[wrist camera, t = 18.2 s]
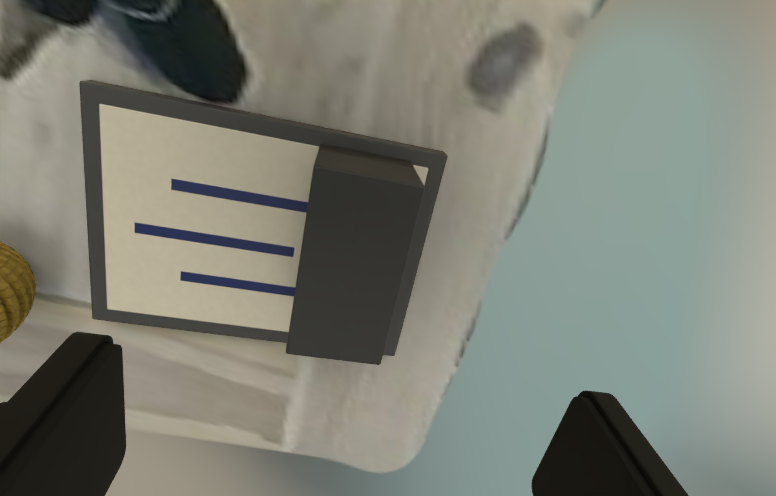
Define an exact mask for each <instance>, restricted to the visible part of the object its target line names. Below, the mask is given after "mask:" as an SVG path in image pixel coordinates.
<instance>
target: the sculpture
mask: <svg viewBox="0 0 776 496" xmlns="http://www.w3.org/2000/svg"><path fill="white" fill-rule="evenodd" d="M32 273H33V272H32V271H31V269H30V266H29V264H28V263H27V262H26V261H25V260H24V258H23V257H21V255H19V254H18V253H17V252H15V250H14V249H12V248H10V247H8V246H7V245H5V244H3V243H1V242H0V343H1V342H2V341H3V339H6V338H8V337H9V336H10V335H11V334H12V333H13V331H14V330H16V329H17V328H18V327H19V325H21V323H22V321H24V319H25V317H27V316H26V315H28V313H29V311H30V310H31V308H32V307H31V306H32V305H33V301H34V295H35V288H36V284H35V283H34V282H35V280H34V276H33V274H32ZM1 297H2V298H1ZM2 305H3V306H2Z"/></svg>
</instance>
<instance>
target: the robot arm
mask: <svg viewBox="0 0 776 496" xmlns="http://www.w3.org/2000/svg"><path fill="white" fill-rule="evenodd" d="M125 450H126V433H125V407H124V382H123V357H122V347H121V345H117V344H113V339H112V337H111V336H108V335H100V334H91V333H83V332H75V333H73V334H72V335H70V336H69V337H68V338H67V339H66V340H65V341H64V342H63V344H62V345H61V346H60V347H59V348H58V349H57V350H56V351H55V352H54V353H53V354H52V355H51V356H50V357H49V358H48V359H47V361H46V362H45V363H44V364H43V365H42V366H41V367H40V368H39V369H38V370H37V371H36V372H35V373H34V374H33V375H32V376H31V378H30V379H29V380H28V381H27V382H26V383H25V384H24V385H23V386H22V387H21V388H20V389H19V390H18V391H17V392H16V393H15V395H14V396H13V397H12V398H11V399H10V400H9V401H8V402H2V403H0V496H105V494H106V492H107V490H108V488H109V486H110V484H111V483H112V481H113V479H114V477H115V475H116V473H117V472H118V470H119V468H120V466H121V464H122V460H123V458H124V455H125ZM532 493H533V496H688V494H687V493H686V492H685V490H684V489H683V488H682V486H681V485H680V484H679V482H678V481H677V480H676V478H675V477H674V476H673V474H672V473H671V472H670V470H669V469H668V468H667V466H666V465H665V464H664V462H663V461H662V459H661V458H660V457H659V455H658V454H657V453H656V451H655V450H654V449H653V447H652V446H651V445H650V443H649V442H648V441H647V439H646V438H645V437H644V435H643V434H642V433H641V431H640V430H639V429H638V428H637V426H636V425H635V423H634V422H633V421H632V419H631V418H630V417H629V415H628V414H627V413H626V411H625V410H624V409H623V407H622V406H621V405H620V403H619V402H618V401H617V399H616V398H615V397H614V396H613V395H611V394H609V393H602V392H592V391H583V392H581V393H580V394H579V395H578V397H574V398H573V399H572V401H571V402H570V404H569V407H568V408H567V411H566V413H565V415H564V416H563V418H562V420H561V422H560V424H559V426H558V428H557V430H556V432H555V434H554V436H553V438H552V440H551V442H550V445H549V446H548V448H547V450H546V452H545V454H544V456H543V458H542V460H541V463H540V464H539V467H538V468H537V471H536V472H535V474H534V476H533V479H532Z"/></svg>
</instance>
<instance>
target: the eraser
mask: <svg viewBox="0 0 776 496" xmlns="http://www.w3.org/2000/svg"><path fill="white" fill-rule="evenodd" d="M424 190H425V186H424V184H423V182H422V181H421V179H420V177H419V175H418V174H417V172H416V170H415V169H414V166H413V164H412V163H411V161H407V160H401V159H396V158H391V157H386V156H381V155H376V154H371V153H366V152H361V151H356V150H351V149H346V148H341V147H336V146H331V145H325V144H320V146H319V150H318V153H317V157H316V160H315V163H314V167H313V173H312V179H311V186H310V193H309V200H308V206H307V213H306V220H305V226H304V233H303V240H302V246H301V253H300V260H299V266H298V273H297V280H296V287H295V293H294V300H293V307H292V313H291V320H290V327H289V333H288V340H287V347H286V353H287V354H293V355H302V356H310V357H318V358H327V359H335V360H343V361H352V362H360V363H369V364H377V365H379V364H380V363H381V360H382V356H383V352H384V348H385V344H386V340H387V336H388V332H389V328H390V324H391V320H392V316H393V312H394V308H395V304H396V300H397V296H398V292H399V289H400V285H401V281H402V277H403V273H404V269H405V265H406V261H407V257H408V253H409V249H410V245H411V241H412V237H413V233H414V229H415V225H416V221H417V217H418V214H419V210H420V206H421V202H422V198H423V194H424Z"/></svg>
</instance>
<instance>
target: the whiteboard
mask: <svg viewBox="0 0 776 496" xmlns="http://www.w3.org/2000/svg"><path fill="white" fill-rule="evenodd" d="M80 99H81V118H82V136H83V154H84V172H85V190H86V209H87V227H88V245H89V263H90V281H91V299H92V318H93V319H97V320H105V321H113V322H121V323H129V324H138V325H146V326H154V327H162V328H170V329H178V330H186V331H194V332H203V333H211V334H219V335H227V336H235V337H243V338H251V339H260V340H268V341H276V342H284V343H287V340H288V333H289V327H290V320H291V313H292V307H293V300H294V293H295V287H296V280H297V273H298V266H299V260H300V253H301V246H302V240H303V233H304V226H305V220H306V213H307V206H308V200H309V193H310V186H311V179H312V173H313V167H314V163H315V160H316V157H317V153H318V150H319V146H320V144H325V145H331V146H336V147H341V148H346V149H351V150H356V151H361V152H366V153H371V154H376V155H381V156H386V157H391V158H396V159H401V160H407V161H411V163H412V164H413V166H414V169H415V170H416V172H417V174H418V175H419V177H420V179H421V181H422V182H423V184H424V186H425V190H424V194H423V198H422V202H421V206H420V210H419V214H418V217H417V221H416V225H415V229H414V233H413V237H412V241H411V245H410V249H409V253H408V257H407V261H406V265H405V269H404V273H403V277H402V281H401V285H400V289H399V292H398V296H397V300H396V304H395V308H394V312H393V316H392V320H391V324H390V328H389V332H388V336H387V340H386V344H385V348H384V352H383V355H390V356H394V355H395V352H396V348H397V344H398V341H399V337H400V333H401V329H402V325H403V322H404V318H405V314H406V310H407V307H408V303H409V299H410V295H411V291H412V288H413V284H414V280H415V276H416V273H417V269H418V265H419V261H420V258H421V254H422V250H423V246H424V242H425V239H426V235H427V231H428V227H429V224H430V220H431V216H432V212H433V209H434V205H435V201H436V197H437V193H438V190H439V186H440V182H441V178H442V175H443V171H444V167H445V163H446V160H447V155H446V154H445V153H444V152H443V151H438V150H433V149H428V148H423V147H418V146H413V145H408V144H403V143H398V142H393V141H388V140H383V139H378V138H373V137H368V136H364V135H359V134H354V133H349V132H344V131H339V130H334V129H329V128H324V127H319V126H314V125H309V124H304V123H299V122H294V121H290V120H285V119H280V118H275V117H270V116H265V115H260V114H255V113H250V112H245V111H240V110H235V109H230V108H225V107H220V106H215V105H211V104H206V103H201V102H196V101H191V100H186V99H181V98H176V97H171V96H166V95H161V94H156V93H151V92H146V91H141V90H136V89H132V88H127V87H122V86H117V85H112V84H107V83H102V82H97V81H92V80H88V81H80Z"/></svg>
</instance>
